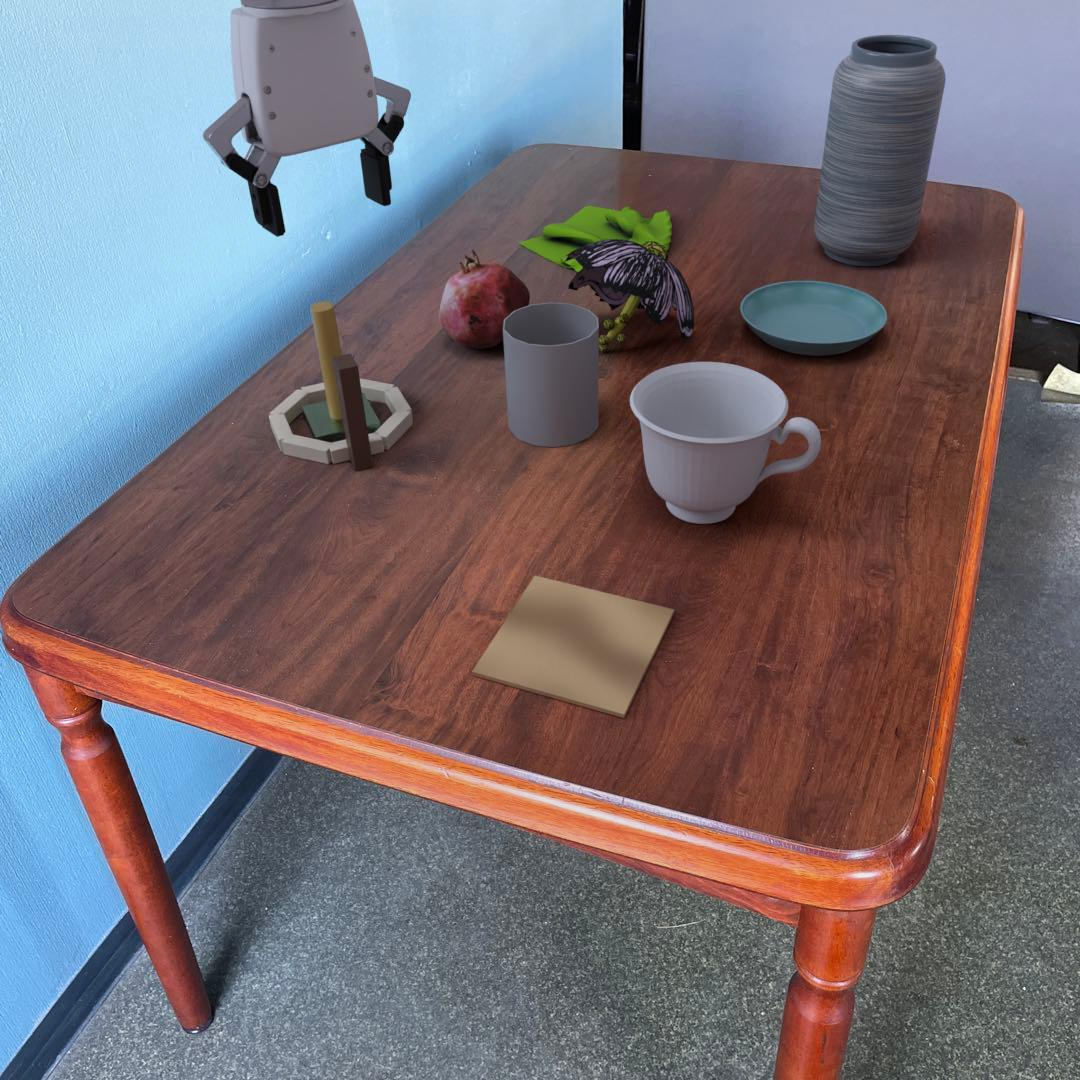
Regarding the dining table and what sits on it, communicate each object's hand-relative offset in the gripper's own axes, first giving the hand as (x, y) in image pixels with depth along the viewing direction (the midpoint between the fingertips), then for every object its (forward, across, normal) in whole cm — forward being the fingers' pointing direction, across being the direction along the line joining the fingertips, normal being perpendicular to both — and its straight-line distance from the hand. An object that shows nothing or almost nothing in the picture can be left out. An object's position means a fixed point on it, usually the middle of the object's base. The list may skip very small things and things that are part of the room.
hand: (327, 215), depth 88 cm
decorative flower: (+20, -31, +3) cm, 37 cm away
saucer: (+20, -45, +15) cm, 52 cm away
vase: (+20, -66, +4) cm, 69 cm away
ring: (+20, +1, -1) cm, 20 cm away
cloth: (+20, -46, -18) cm, 53 cm away
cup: (+20, -14, +11) cm, 27 cm away
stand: (+20, +1, -1) cm, 20 cm away
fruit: (+20, -19, -6) cm, 28 cm away
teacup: (+20, -16, +30) cm, 40 cm away
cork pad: (+20, +3, +36) cm, 41 cm away
